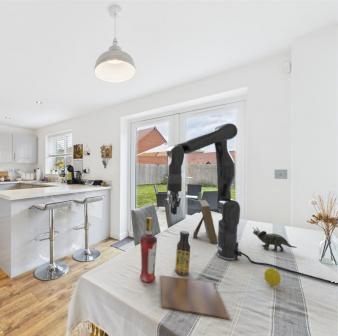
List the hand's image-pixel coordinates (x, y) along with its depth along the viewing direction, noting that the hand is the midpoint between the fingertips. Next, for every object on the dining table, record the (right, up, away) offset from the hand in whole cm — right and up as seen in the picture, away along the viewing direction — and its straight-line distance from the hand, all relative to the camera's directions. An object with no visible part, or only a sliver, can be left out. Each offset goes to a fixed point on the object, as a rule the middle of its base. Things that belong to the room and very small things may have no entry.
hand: (173, 213), depth 107 cm
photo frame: (+32, -25, +34) cm, 53 cm away
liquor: (-18, -25, -19) cm, 37 cm away
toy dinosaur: (+67, -26, +15) cm, 73 cm away
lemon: (+36, -27, -22) cm, 50 cm away
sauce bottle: (0, -26, -13) cm, 29 cm away
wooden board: (-2, -26, -29) cm, 39 cm away
